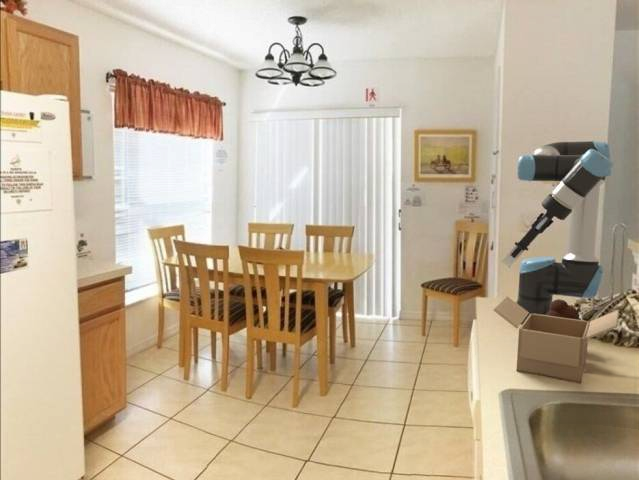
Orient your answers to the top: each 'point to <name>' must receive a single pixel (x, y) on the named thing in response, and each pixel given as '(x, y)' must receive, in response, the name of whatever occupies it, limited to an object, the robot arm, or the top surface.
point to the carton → (553, 347)
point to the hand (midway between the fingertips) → (506, 263)
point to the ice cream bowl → (563, 310)
